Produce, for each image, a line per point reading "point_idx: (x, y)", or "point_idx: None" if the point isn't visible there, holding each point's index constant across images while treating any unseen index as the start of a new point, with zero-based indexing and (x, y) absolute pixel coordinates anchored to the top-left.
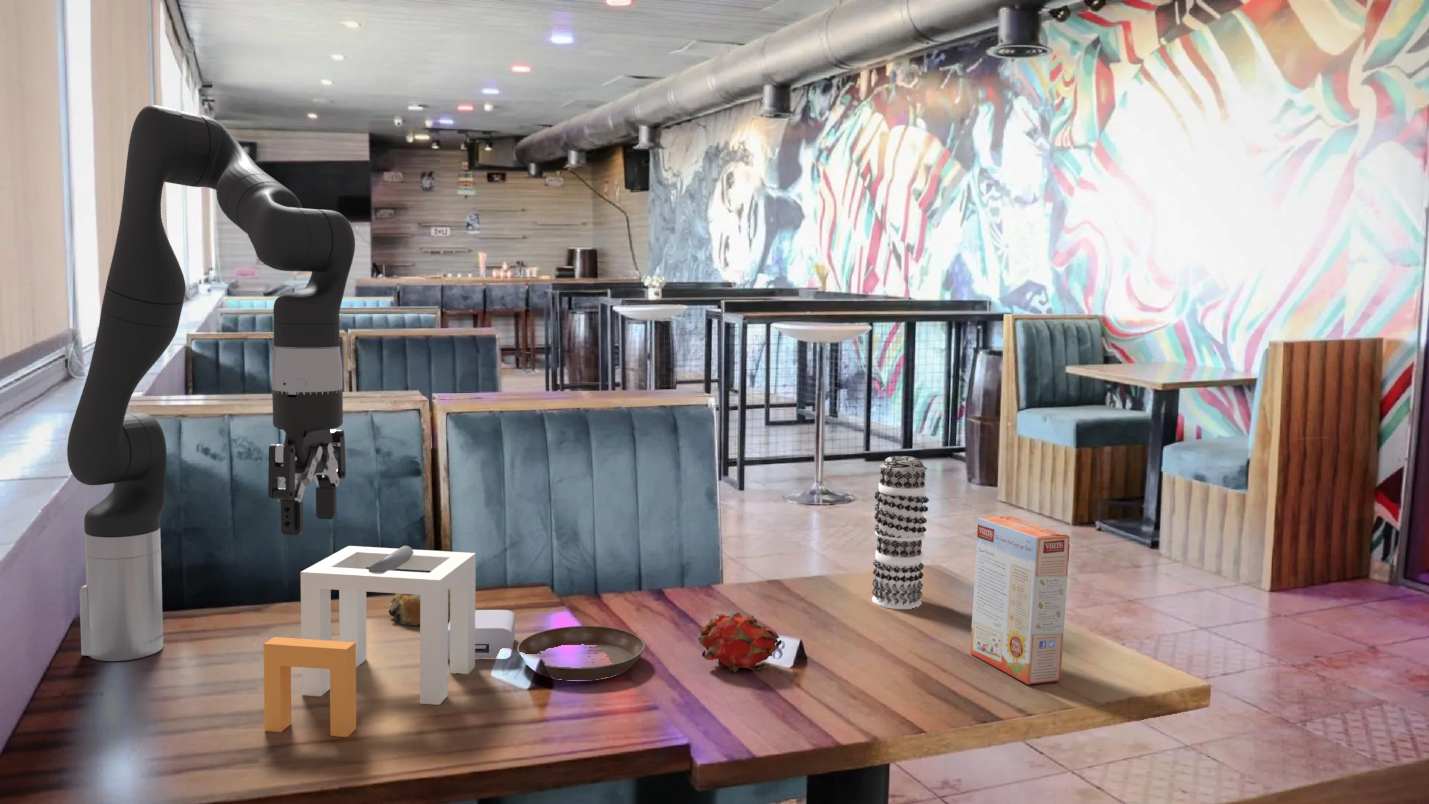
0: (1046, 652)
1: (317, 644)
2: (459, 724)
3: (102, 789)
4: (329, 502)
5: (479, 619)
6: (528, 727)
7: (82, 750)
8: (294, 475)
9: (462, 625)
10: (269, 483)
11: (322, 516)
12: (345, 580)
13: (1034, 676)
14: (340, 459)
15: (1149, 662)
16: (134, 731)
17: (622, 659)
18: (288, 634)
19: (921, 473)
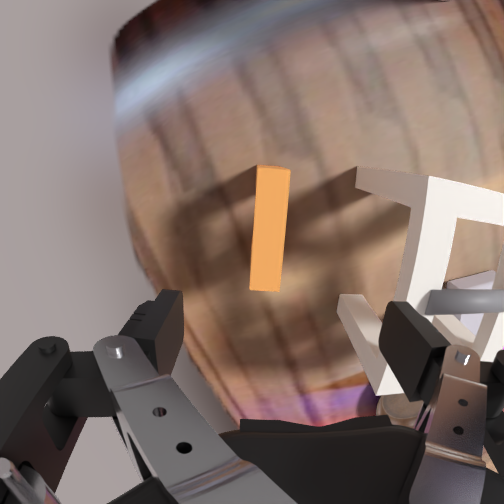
0: None
1: (264, 244)
2: (290, 339)
3: (119, 90)
4: (397, 361)
5: (481, 315)
6: (286, 387)
7: (193, 25)
8: (63, 466)
9: None
10: (10, 372)
11: (387, 317)
12: (411, 256)
13: None
14: (492, 456)
15: None
16: (241, 41)
17: (417, 410)
18: (498, 105)
19: None
